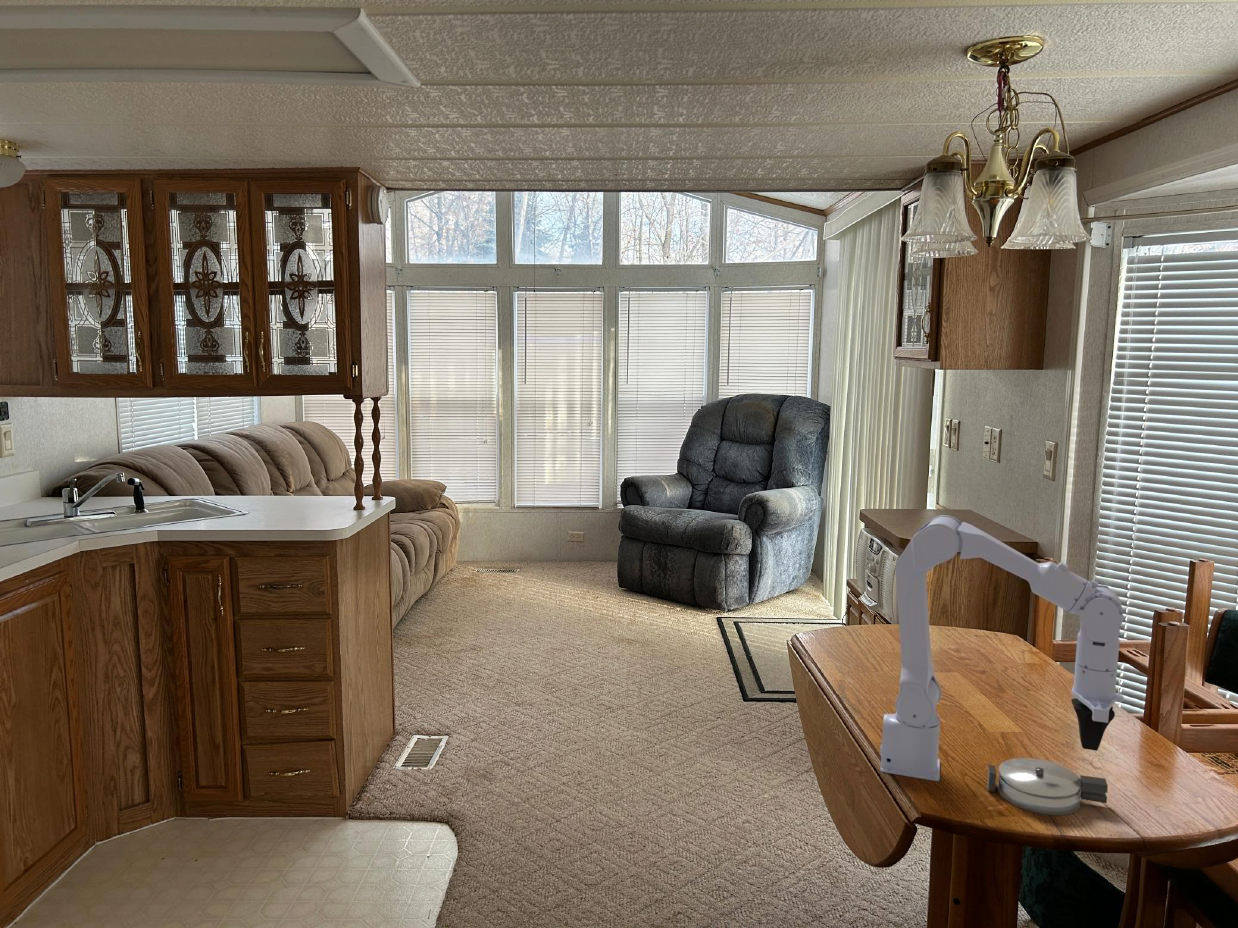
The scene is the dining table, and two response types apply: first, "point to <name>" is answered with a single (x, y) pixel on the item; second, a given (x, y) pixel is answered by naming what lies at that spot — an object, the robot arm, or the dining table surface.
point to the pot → (1042, 798)
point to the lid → (1046, 778)
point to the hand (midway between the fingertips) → (1089, 747)
